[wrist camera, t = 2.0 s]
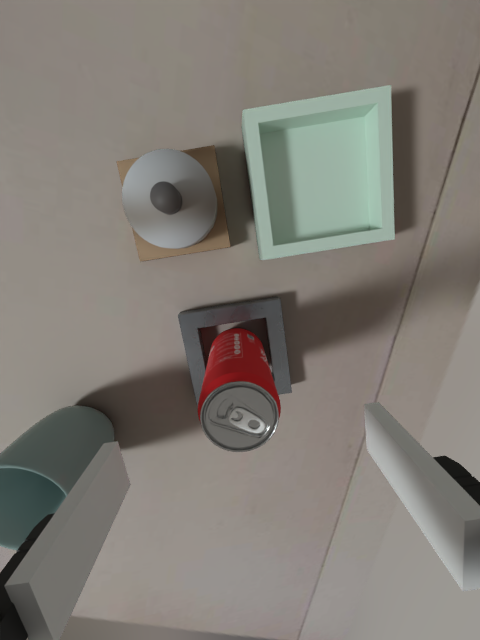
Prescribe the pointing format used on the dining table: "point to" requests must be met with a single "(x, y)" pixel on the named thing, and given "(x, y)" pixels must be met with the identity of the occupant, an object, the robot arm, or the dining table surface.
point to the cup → (47, 467)
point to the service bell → (174, 202)
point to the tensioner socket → (230, 314)
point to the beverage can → (238, 393)
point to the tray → (321, 172)
